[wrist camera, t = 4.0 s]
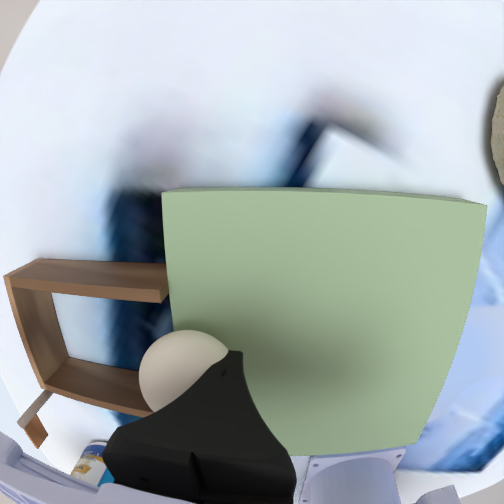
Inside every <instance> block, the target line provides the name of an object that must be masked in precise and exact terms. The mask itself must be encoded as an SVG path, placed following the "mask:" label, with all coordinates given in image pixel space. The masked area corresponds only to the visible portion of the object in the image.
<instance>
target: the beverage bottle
mask: <svg viewBox="0 0 504 504" xmlns="http://www.w3.org/2000/svg"><path fill="white" fill-rule="evenodd" d="M106 445H107V443H106V442H93V443H91V444H89V445H88V446H87V447H86V448H85V450H84V451H83V453H82V456H81V457H80V459H79V461H78V462H77V464H76V466H75V467H74V469H73V471H72V472H71V474H70V476H73V477H75V478H77V479H80V480H82V481H85V482H87V483H90V484H93V485H95V486H98V487H100V486H101V485H102V484H105V483H113V482H114V478H113V476H112V475H111V473H110V472H109V470H108V468H107V467H106V465H105V464H104V462H103V459H102V452H103V450H104V448H105V446H106Z"/></svg>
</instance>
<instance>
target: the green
mask: <svg viewBox="0 0 504 504" xmlns="http://www.w3.org/2000/svg"><path fill="white" fill-rule="evenodd" d="M162 211H163V228H164V242H165V254H166V266H167V276H168V286H169V295H170V304H171V312H172V320H173V328H174V332H175V331H180V330H194V331H199V332H203V333H206V334H208V335H211V336H213V337H214V338H216V339H217V340H219V341H220V342H222V343H223V344H224V345H225V346H226V347H227V348H228V350H233V351H241V352H242V353H243V371H244V375H245V379H246V383H247V386H248V389H249V392H250V394H251V397H252V399H253V402H254V404H255V406H256V408H257V410H258V412H259V413H260V415H261V417H262V419H263V420H264V422H265V423H266V425H267V426H268V428H269V429H270V431H271V432H272V433H273V435H274V436H275V437H276V438H277V440H278V441H279V442H280V443H281V444H282V445H283V446H284V447H285V448H286V450H287V451H288V454H289V456H310V455H332V454H345V453H356V452H365V451H373V450H381V449H387V448H394V447H400V446H405V445H411V444H416V442H417V440H418V438H419V436H420V434H421V432H422V430H423V428H424V426H425V424H426V422H427V420H428V418H429V416H430V414H431V412H432V410H433V408H434V406H435V403H436V401H437V399H438V397H439V394H440V392H441V390H442V387H443V385H444V382H445V380H446V377H447V375H448V372H449V370H450V367H451V364H452V361H453V359H454V356H455V353H456V350H457V347H458V344H459V341H460V338H461V335H462V332H463V328H464V325H465V322H466V318H467V314H468V311H469V307H470V303H471V299H472V295H473V291H474V287H475V282H476V277H477V273H478V268H479V262H480V257H481V251H482V245H483V238H484V230H485V222H486V213H487V205H484V204H480V203H476V202H472V201H469V200H465V199H459V198H450V197H441V196H431V195H420V194H409V193H397V192H384V191H368V190H351V189H329V188H299V187H203V188H178V189H174V190H170V191H166V192H163V193H162Z"/></svg>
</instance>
